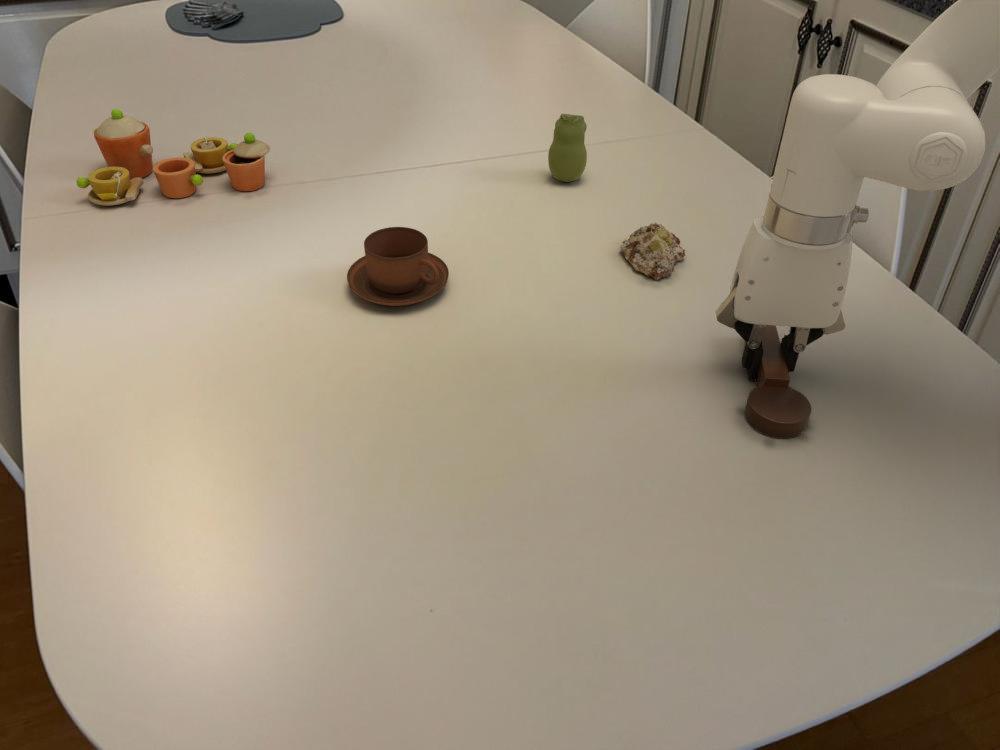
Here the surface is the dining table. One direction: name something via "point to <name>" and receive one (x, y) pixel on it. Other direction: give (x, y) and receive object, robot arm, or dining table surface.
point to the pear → (568, 148)
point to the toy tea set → (167, 163)
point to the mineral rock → (653, 250)
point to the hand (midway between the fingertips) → (765, 372)
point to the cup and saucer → (397, 268)
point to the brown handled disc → (776, 394)
